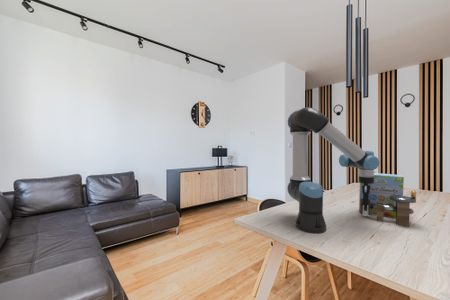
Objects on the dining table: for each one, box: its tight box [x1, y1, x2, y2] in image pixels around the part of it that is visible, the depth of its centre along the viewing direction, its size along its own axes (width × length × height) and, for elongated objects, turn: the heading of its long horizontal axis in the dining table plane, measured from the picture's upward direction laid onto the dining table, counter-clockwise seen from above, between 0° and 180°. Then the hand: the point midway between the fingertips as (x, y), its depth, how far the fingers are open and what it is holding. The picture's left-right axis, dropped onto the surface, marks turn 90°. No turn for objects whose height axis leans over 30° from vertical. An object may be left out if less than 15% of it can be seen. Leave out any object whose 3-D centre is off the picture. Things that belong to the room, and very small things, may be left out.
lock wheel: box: [390, 190, 417, 204], centre depth 114 cm, size 11×11×6 cm
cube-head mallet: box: [360, 198, 414, 216], centre depth 118 cm, size 4×24×9 cm, turn 53°
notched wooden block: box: [376, 201, 411, 228], centre depth 117 cm, size 9×14×13 cm, turn 53°
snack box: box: [358, 172, 405, 219], centre depth 129 cm, size 22×9×26 cm, turn 59°
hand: (365, 214), depth 124 cm, fingers closed on cube-head mallet, 4 cm apart
